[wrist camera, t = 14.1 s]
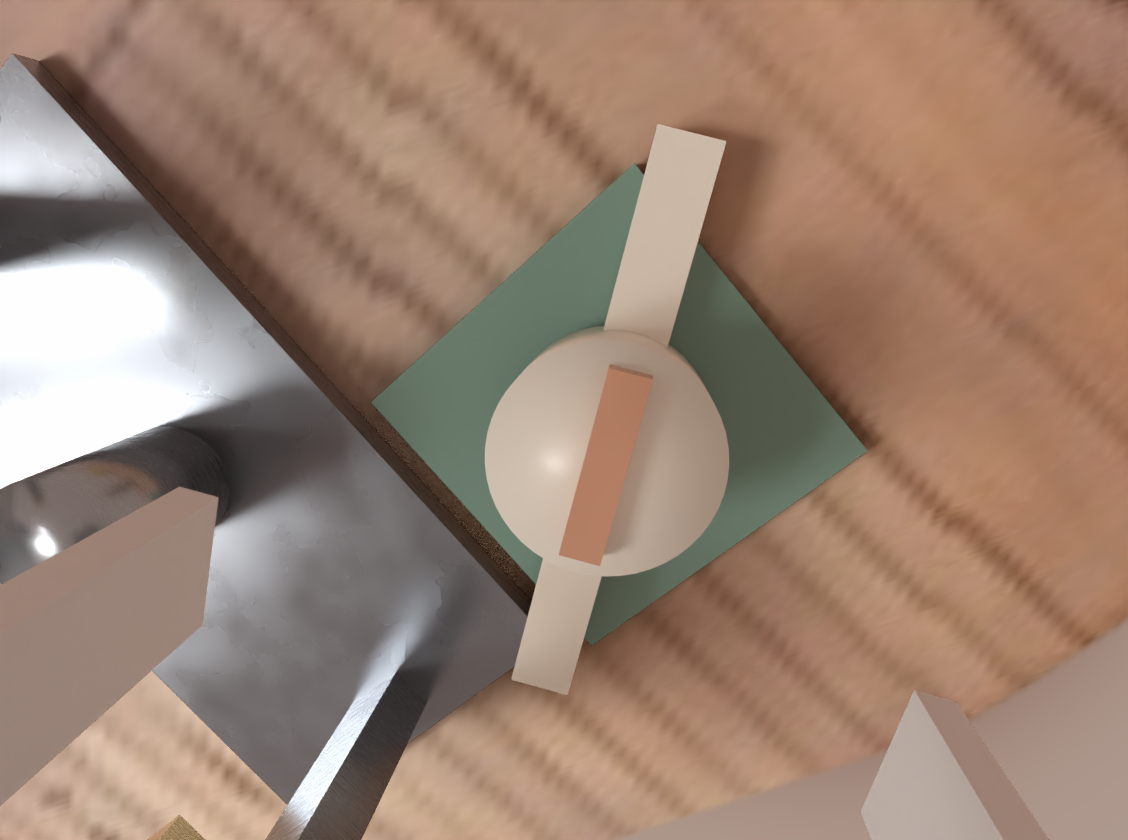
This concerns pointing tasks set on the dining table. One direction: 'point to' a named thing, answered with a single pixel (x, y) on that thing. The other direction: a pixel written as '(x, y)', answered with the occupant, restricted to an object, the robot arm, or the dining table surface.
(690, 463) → the cream crossbar with hub
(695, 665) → the dining table surface
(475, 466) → the mat
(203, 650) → the grey frame
